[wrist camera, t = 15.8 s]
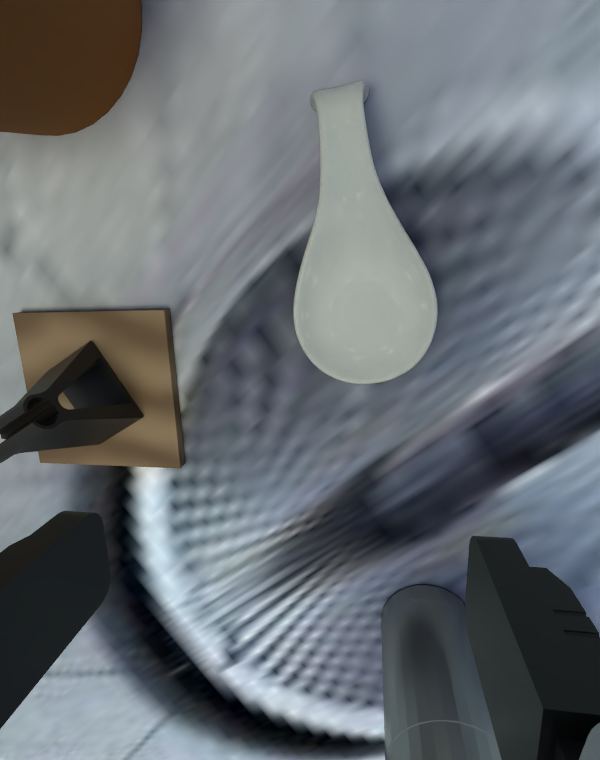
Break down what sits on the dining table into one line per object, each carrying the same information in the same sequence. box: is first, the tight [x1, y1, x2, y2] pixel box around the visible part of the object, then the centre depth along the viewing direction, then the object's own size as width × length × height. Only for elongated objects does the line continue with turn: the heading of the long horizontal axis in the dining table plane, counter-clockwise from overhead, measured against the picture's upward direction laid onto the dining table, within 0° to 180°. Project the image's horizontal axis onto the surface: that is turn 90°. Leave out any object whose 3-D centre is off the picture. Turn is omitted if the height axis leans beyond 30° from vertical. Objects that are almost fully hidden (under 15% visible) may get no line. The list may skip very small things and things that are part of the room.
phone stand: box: [0, 341, 144, 463], centre depth 38 cm, size 9×6×12 cm, turn 32°
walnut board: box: [13, 309, 185, 468], centre depth 45 cm, size 16×16×1 cm
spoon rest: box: [293, 81, 438, 384], centre depth 35 cm, size 24×12×7 cm, turn 10°
